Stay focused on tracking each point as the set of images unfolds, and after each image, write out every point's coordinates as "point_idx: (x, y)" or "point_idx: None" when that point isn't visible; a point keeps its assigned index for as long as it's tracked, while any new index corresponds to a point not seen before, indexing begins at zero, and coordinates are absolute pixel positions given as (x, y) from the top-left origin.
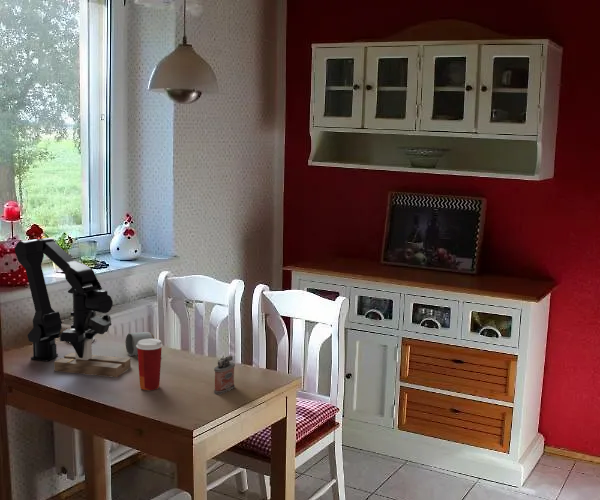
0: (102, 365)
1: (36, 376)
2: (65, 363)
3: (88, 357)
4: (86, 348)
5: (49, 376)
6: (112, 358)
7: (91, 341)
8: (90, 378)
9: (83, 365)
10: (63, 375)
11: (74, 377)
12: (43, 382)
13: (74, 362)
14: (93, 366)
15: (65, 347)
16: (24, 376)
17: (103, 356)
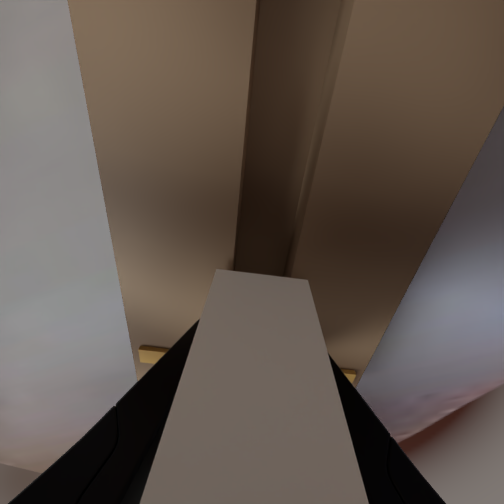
0: (492, 36)
1: (399, 409)
2: (353, 381)
3: (284, 289)
4: (338, 402)
5: (405, 373)
6: (148, 5)
7: (150, 481)
8: (498, 148)
9: (411, 269)
10: (395, 328)
11: (445, 266)
12: (501, 371)
13: (348, 345)
14: (465, 164)
15: (7, 416)
16: (394, 436)
17: (124, 174)
